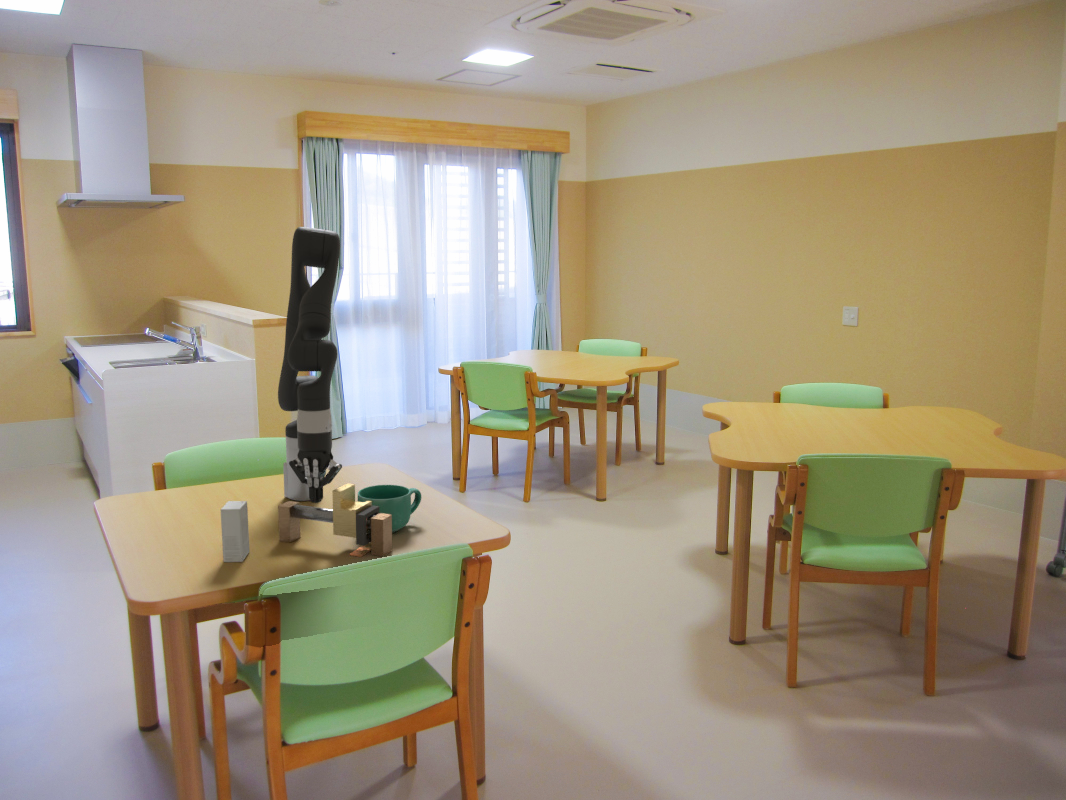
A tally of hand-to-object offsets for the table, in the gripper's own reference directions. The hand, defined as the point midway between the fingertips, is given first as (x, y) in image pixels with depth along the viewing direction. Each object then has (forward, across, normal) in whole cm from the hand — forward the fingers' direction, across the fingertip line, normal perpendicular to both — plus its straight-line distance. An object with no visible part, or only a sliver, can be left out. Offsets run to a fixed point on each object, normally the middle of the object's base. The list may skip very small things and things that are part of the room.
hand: (316, 501), depth 186 cm
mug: (+10, +11, +16) cm, 22 cm away
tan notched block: (+6, +9, 0) cm, 11 cm away
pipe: (+10, +5, 0) cm, 11 cm away
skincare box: (+10, -11, -14) cm, 21 cm away
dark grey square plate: (+7, +13, 0) cm, 15 cm away
